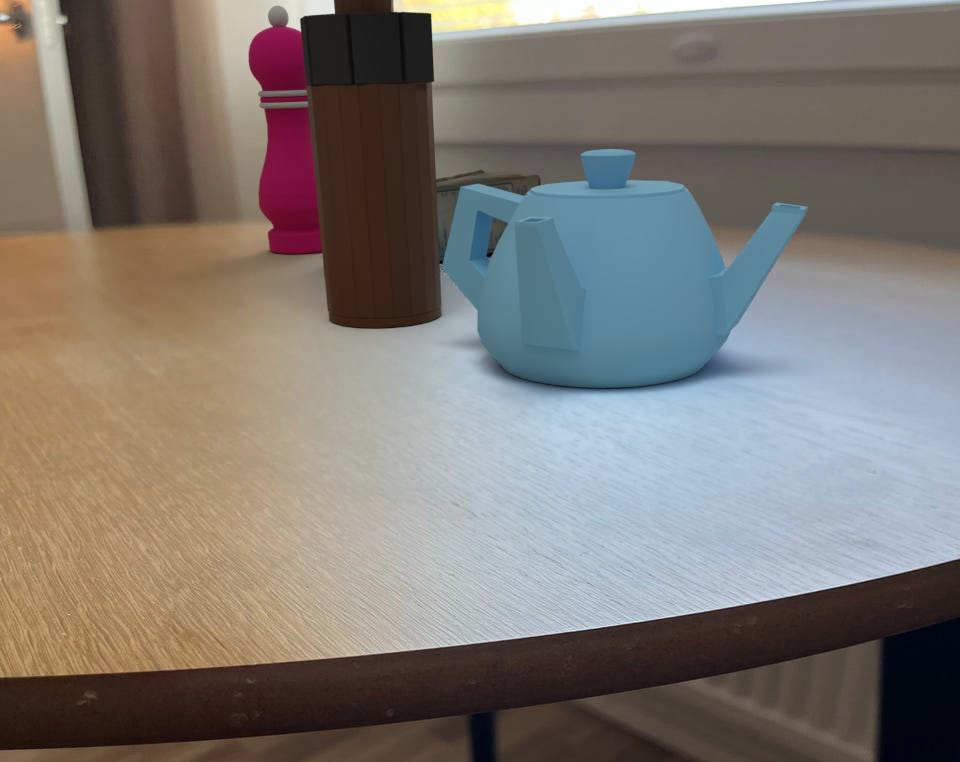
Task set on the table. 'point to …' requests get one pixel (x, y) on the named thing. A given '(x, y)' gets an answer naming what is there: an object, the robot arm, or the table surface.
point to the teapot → (605, 276)
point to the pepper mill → (286, 138)
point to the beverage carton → (451, 185)
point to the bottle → (376, 197)
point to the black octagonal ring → (367, 48)
